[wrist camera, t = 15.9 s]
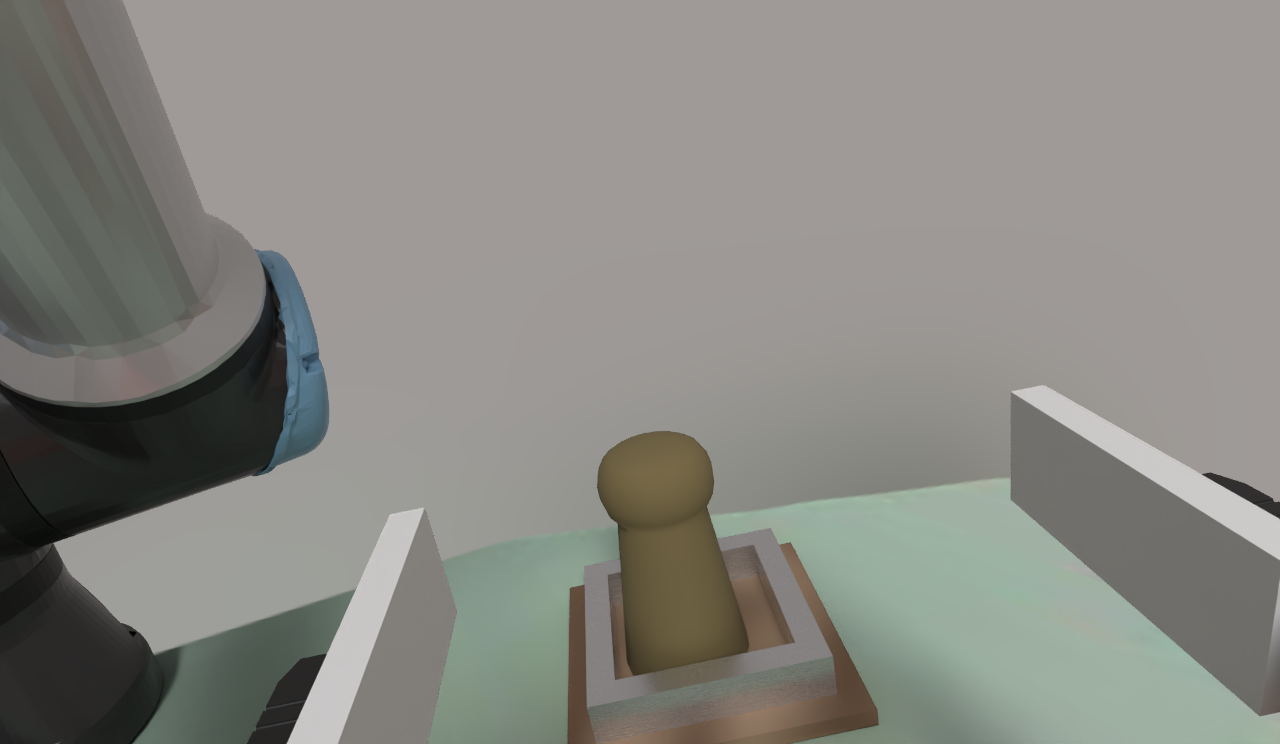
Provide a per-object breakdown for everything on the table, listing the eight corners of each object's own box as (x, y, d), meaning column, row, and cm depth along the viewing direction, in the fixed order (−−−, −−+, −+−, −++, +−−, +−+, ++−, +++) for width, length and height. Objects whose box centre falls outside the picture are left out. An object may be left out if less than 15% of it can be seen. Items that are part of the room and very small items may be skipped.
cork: (619, 622, 39) (576, 433, 35) (731, 595, 39) (700, 405, 36) (635, 707, 33) (586, 491, 29) (765, 674, 33) (732, 457, 30)
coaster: (571, 789, 30) (556, 736, 30) (572, 599, 43) (562, 558, 42) (878, 724, 31) (872, 670, 30) (792, 554, 43) (786, 512, 42)
